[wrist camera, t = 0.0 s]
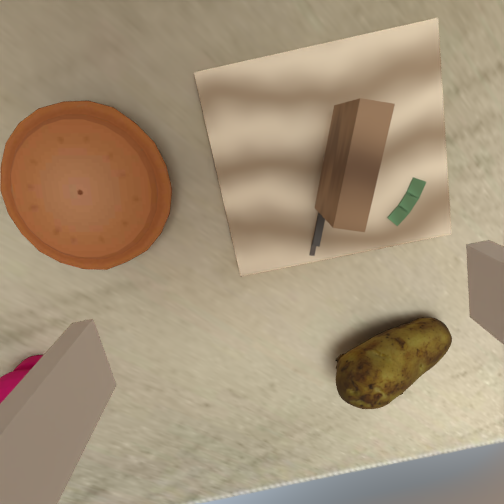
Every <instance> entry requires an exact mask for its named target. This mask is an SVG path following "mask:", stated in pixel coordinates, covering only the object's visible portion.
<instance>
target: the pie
mask: <svg viewBox="0 0 504 504" xmlns="http://www.w3.org/2000/svg"><path fill="white" fill-rule="evenodd" d="M1 193H2V196H3V199H4V202H5V205H6V208H7V211H8V214H9V215H10V217H11V218H12V220H13V221H14V223H15V224H16V226H17V227H18V229H19V230H20V232H21V233H22V235H23V236H25V237H26V238H27V239H28V240H29V241H30V242H31V243H32V244H33V245H34V246H35V247H36V248H37V249H38V250H39V251H40V252H42V253H44V254H46V255H47V256H49V257H51V258H53V259H55V260H57V261H59V262H61V263H64V264H68V265H71V266H75V267H79V268H82V269H104V270H107V269H110V268H112V267H115V266H117V265H120V264H122V263H125V262H127V261H129V260H131V259H133V258H135V257H136V256H138V255H140V254H142V253H143V252H145V251H147V250H148V249H149V247H150V246H151V245H152V244H153V242H154V241H155V240H156V239H157V237H158V236H159V235H160V234H161V232H162V230H163V227H164V225H165V223H166V220H167V218H168V216H169V214H170V205H171V195H172V187H171V183H170V179H169V175H168V171H167V167H166V164H165V162H164V160H163V158H162V156H161V154H160V152H159V150H158V148H157V146H156V145H155V143H154V141H153V140H152V139H151V138H150V137H149V136H148V135H147V134H146V133H145V132H144V131H143V130H142V129H141V128H140V127H139V126H138V125H137V124H136V123H135V122H133V121H132V120H130V119H129V118H128V117H126V116H125V115H123V114H122V113H121V112H119V111H118V110H116V109H115V108H113V107H109V106H106V105H102V104H98V103H95V102H91V101H68V102H60V103H57V104H53V105H50V106H46V107H42V108H39V109H37V110H36V111H35V112H33V113H32V114H31V115H29V116H28V117H27V118H25V119H24V120H23V121H21V122H20V123H19V124H18V126H17V127H16V129H15V130H14V132H13V133H12V135H11V136H10V138H9V139H8V141H7V142H6V145H5V150H4V154H3V159H2V163H1Z"/></svg>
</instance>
